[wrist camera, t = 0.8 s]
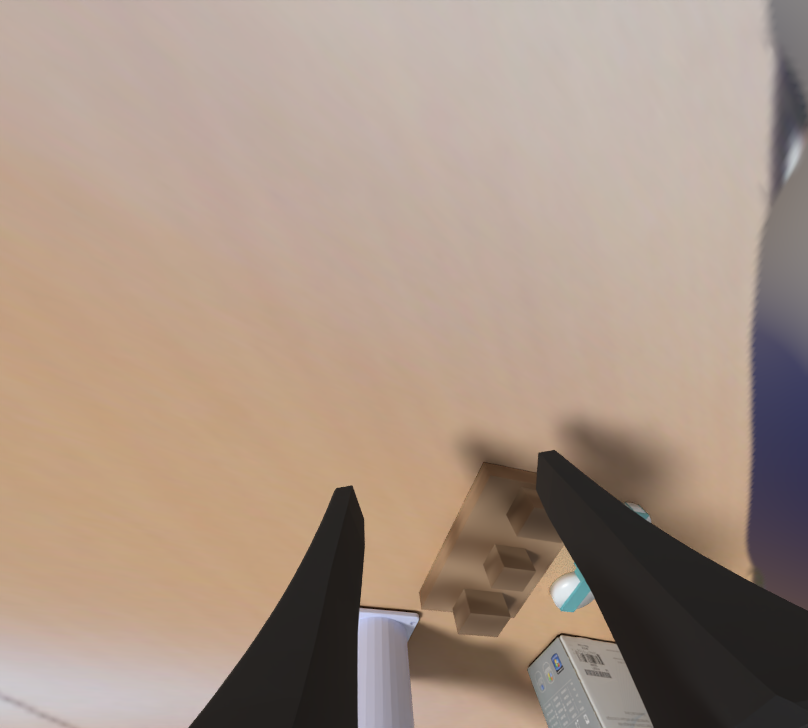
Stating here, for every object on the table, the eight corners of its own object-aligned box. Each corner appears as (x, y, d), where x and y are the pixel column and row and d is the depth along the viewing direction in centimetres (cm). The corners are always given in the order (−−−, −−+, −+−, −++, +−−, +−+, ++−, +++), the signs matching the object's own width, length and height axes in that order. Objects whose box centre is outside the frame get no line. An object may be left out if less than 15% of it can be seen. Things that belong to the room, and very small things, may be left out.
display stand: (507, 601, 31) (523, 642, 28) (419, 592, 29) (425, 634, 26) (585, 483, 26) (615, 516, 23) (483, 462, 24) (500, 495, 21)
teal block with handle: (577, 601, 33) (611, 660, 28) (542, 597, 32) (570, 657, 27) (651, 506, 28) (706, 557, 24) (612, 498, 27) (661, 550, 23)
